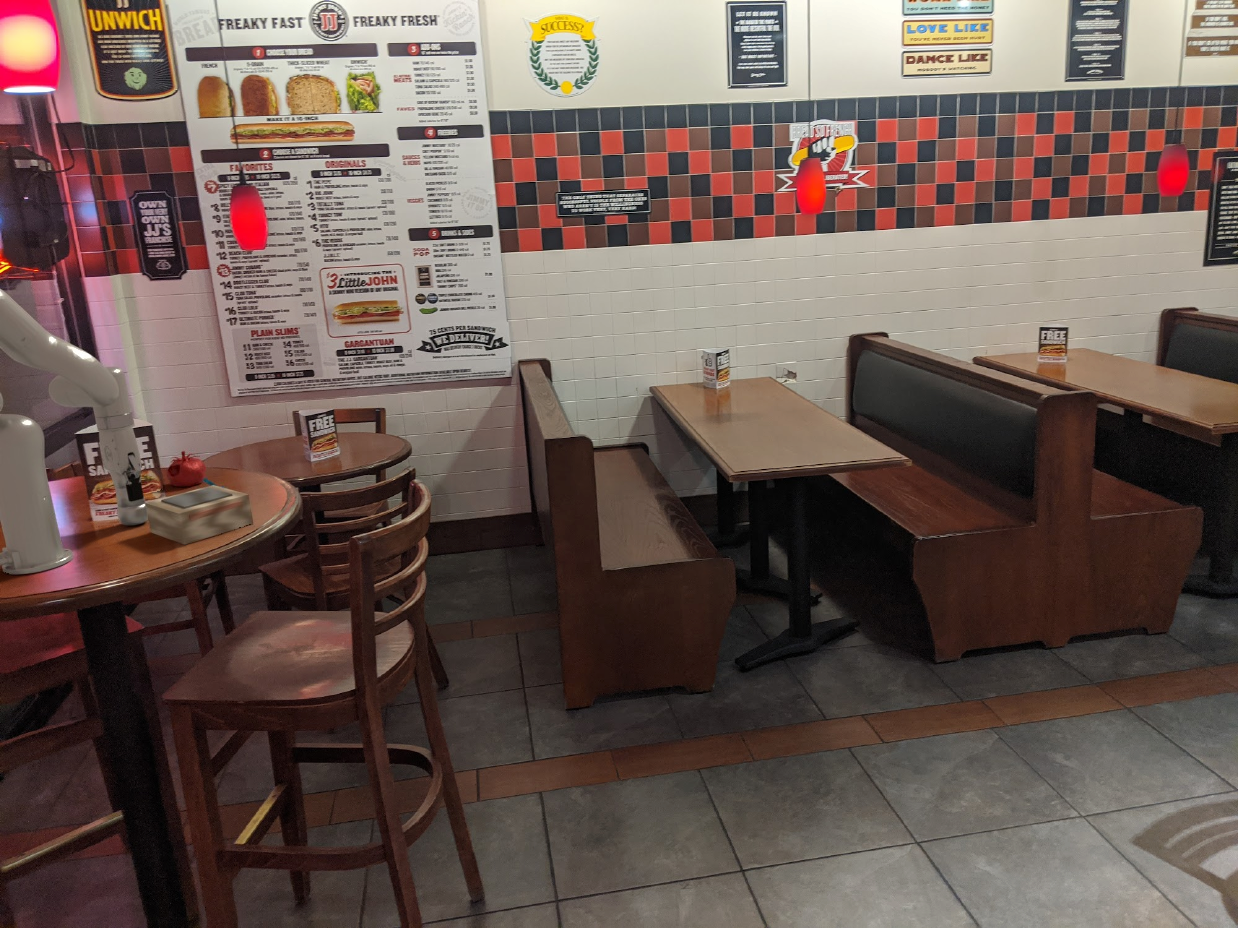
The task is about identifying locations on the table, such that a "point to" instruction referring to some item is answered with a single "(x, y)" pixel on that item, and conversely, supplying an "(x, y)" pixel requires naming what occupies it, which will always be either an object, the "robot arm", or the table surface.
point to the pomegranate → (186, 471)
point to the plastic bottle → (127, 510)
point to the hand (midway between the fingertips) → (130, 497)
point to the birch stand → (199, 514)
